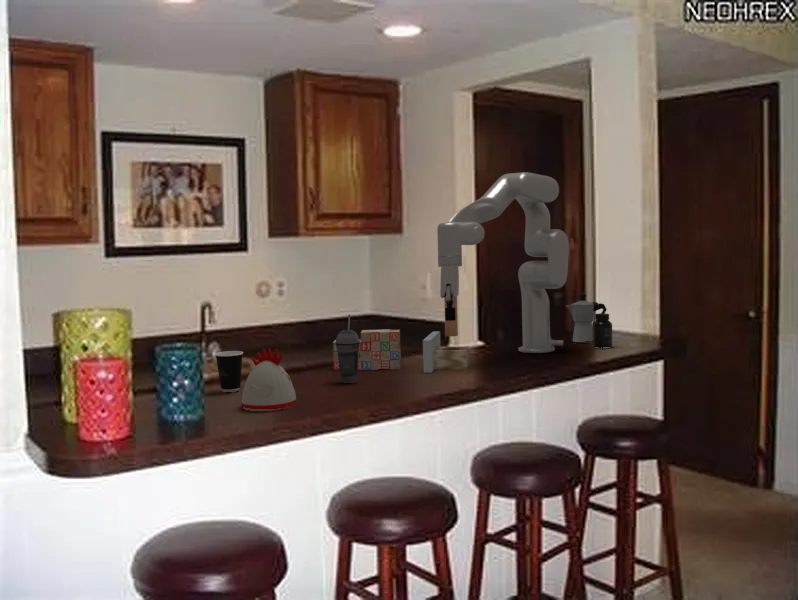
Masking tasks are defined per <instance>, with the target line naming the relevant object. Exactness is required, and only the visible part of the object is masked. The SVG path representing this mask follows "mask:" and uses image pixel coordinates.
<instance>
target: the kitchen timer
mask: <svg viewBox="0 0 798 600" xmlns="http://www.w3.org/2000/svg"><path fill="white" fill-rule="evenodd" d="M267 350H268V351H266V349H265V348H262V350H261V351H262V352H261V354H260V352H256V357H257V359H256V358H255V357H253V356H252V357H251V361H252V362H253V365H254V367H253V368H252V369H251V370H250V372H249V374H248V376H247V378H246V380H245V383H244V387H243V391H242V394H241V407H242V406H243V407H245V408H250V409H277V408H284V407H289V406H292V405H294V404H295V403H296V404H297V395H296V390H295V388H294V385H293V382H292V380H291V379H292V378H291V377H290V376H289V374H288V373H287V371H286V369H284V367H282V366H281V365H280V363H281V360H282V358H283V356H284V353H281V354H280V355H279V353H278V351H279V350H278V348H276V349H275V350H274V352H273V353H274V354H272V350H271V348H270V347H269V348H268V349H267ZM257 360H258V361H257Z"/></svg>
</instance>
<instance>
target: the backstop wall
mask: <svg viewBox="0 0 798 600" xmlns="http://www.w3.org/2000/svg"><path fill="white" fill-rule="evenodd" d="M437 347H441V331H438V330H437V331H432V332H431V333H429V334H428V335H427V336H426V337H425V338H424V339H423V340H422V360H423V373H424V374H425V373H426V374H428V373H429V374H430V373H431V374H432V373H433V371H435V370H434V350H435V349H436V348H437Z"/></svg>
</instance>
